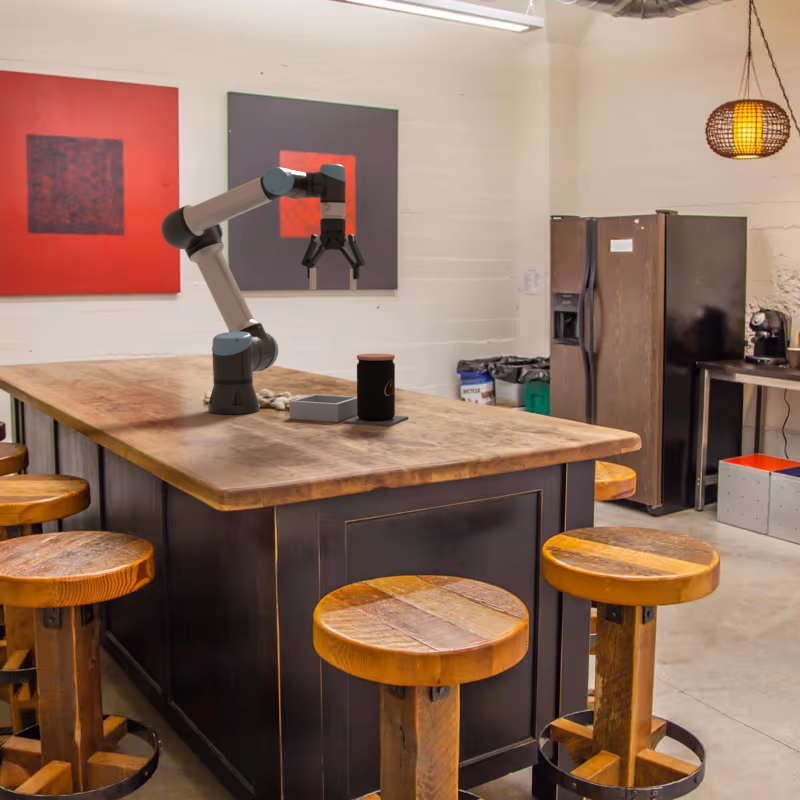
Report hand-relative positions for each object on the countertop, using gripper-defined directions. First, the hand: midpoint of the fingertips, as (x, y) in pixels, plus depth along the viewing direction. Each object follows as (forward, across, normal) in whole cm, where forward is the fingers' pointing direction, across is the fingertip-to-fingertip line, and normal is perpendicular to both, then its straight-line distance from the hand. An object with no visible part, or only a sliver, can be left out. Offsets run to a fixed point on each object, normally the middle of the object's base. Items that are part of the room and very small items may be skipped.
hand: (332, 290), depth 275 cm
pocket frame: (+36, +4, -13) cm, 39 cm away
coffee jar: (+36, +21, -14) cm, 44 cm away
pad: (+36, +21, -14) cm, 44 cm away
